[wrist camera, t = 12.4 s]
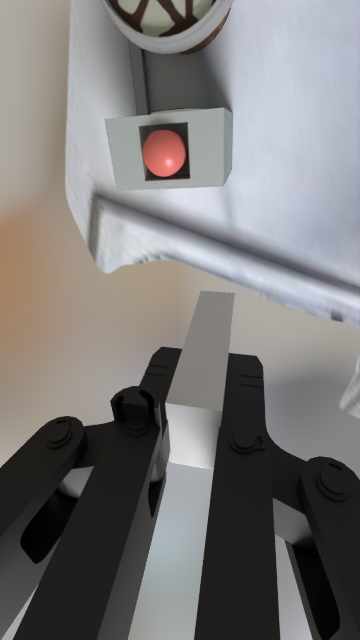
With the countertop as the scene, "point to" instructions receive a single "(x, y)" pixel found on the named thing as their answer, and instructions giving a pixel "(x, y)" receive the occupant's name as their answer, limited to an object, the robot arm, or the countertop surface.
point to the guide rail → (139, 79)
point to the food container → (169, 22)
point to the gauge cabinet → (201, 138)
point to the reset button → (165, 152)
